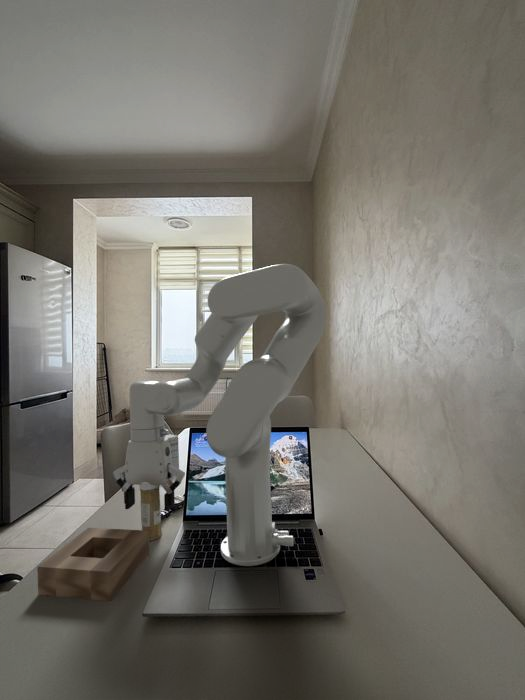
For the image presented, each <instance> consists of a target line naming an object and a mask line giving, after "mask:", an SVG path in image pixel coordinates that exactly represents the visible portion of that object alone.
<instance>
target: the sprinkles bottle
mask: <svg viewBox="0 0 525 700" xmlns="http://www.w3.org/2000/svg"><path fill="white" fill-rule="evenodd" d="M138 486H139V490H140V521H141V522H140V523H141V530H146V531H148V533H149V542H150V541H155V540H157V539H159V538H160V537H161V536H162V534H163V532H162V518H161V517H162V516H161V515H162V514H161V512H162V511H161V497H160V487H161V485H150V484H149V483H148V482H142V483H141V484H140V485H138Z"/></svg>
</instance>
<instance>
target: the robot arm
mask: <svg viewBox="0 0 525 700" xmlns="http://www.w3.org/2000/svg"><path fill="white" fill-rule="evenodd" d="M207 307H208V309H209V312H210V315H209V316H208V318H207V319H206V320H205V321H204V323H203V325H202V326H201V327H200V328H199V330H198V332H197V333H196V334H195V337H194V344H195V346H196V347H197V357H196V360H195V361H194V364H193V365H192V367H191V368H190V370H189V371H188V372H187V373H186V375H185V376H184V377H183V378H179V379H174V380H169V381H168V380H167V381H164V382H163V381H162V382H161V381H158V380H140V381H135V382H132V383H131V384H130V386H129V423H130V424H129V426H130V430H129V431H130V440H128V442H127V446H126V451H125V452H126V453H125V461H124V462H125V463H124V465H123V466H121V467H119V468H117V469H115V470H114V471H112V475H113V476H114V479H115V480H116V483H117V485H118V486H119V487H120V488H121V492H123V503H124V507H125V508H124V509H125V510H129V509H131V508H132V507H133V506H134V505H135V504H136V497H135V496H136V491H135V490H136V489H135V485H138V486H139V485H140V484H141V483H142V482H148V483H149V484H150V485H160V487H162V489H163V490H164V491H165V492H166V493H164V495H163V496H164V497H163V498H164V499H163V500H164V511H165V512H169V511H170V510H171V509H172V508H173V507H174V506H175V490H176V489H177V488H178V487H179V486H180V485H181V483H182V481H183V480H184V477H185V475H186V474H185V471H183V470H182V469H180V468H179V469H178V468H176V467H175V466H173V464H172V455H171V449H170V444H169V440H168V438H165V436H166V435H169V434H171V431H170V429H169V428H168V429H167V428H166V426H165V416H166V417H170V416H175V415H176V416H177V415H179V414H181V413H184V412H186V411H188V410H192V409H195V408H197V407H198V406H200V404H202V403H203V401H204V400H205V399H206V398H207V396H208V395H209V394H210V392H212V390H213V389H214V388H215V386H216V384H217V382H218V381H219V380H220V378H221V375H222V374H223V371H224V369H225V367H226V364H227V360H228V358H229V357H230V355H231V354H232V352H233V351H234V350H235V349H236V347H237V346H238V344H239V343H240V341H241V340H242V339H243V338H244V337H245V335H246V333H247V332H248V331H249V329H250V328H251V327H252V326H253V324H254V323H255V322H256V321H257V318H258V317H259V316H262V315H267V314H271V313H277V312H284V313H285V317H284V321H283V323H282V324H281V326H280V327H279V329H278V330H277V331H276V332H275V334H274V335H273V337H272V339H271V341H270V343H269V345H268V346H267V348H266V349H265V351H264V352H263V354H262V355H261V356H260V357H259V358H254V359H252V360H249V361H247V362H245V363H244V364H243V365H242V366H241V367H240V368H238V370H237V371H236V373H235V374H234V375H233V377H232V379H231V380H230V382H229V383H228V385H227V387H226V389H225V390H224V392H223V394H222V395H221V397H220V399H219V400H218V402H217V404H216V406H215V407H214V409H213V411H212V412H211V415H210V417H209V418H208V421H207V425H206V430H205V434H206V441H207V444H208V445H209V447H210V449H211V451H213V453H215V454H217V455H218V456H220V457H221V458H225V462H224V463H225V464H224V465H225V466H224V467H225V468H224V469H225V470H224V473H225V478H224V479H225V502H226V503H225V504H226V528H227V529H226V531H227V533H226V534H227V536H225V538H224V539H223V540H222V541H221V544H220V554H221V556H222V558H223V559H224V560H225V561H227V563H230V564H232V565H236V566H242V567H253V566H254V567H255V566H259V565H263V564H265V563H269V562H270V561H272V560H273V559H275V558H276V557H277V555H278V554H279V553H280V550H281V546H284V547H294V535H289V534H290V533H289V530H278V528H276V522H275V521H273V520H272V515H273V514H272V495H271V493H272V492H271V461H270V460H271V458H270V455H271V454H270V453H271V450H270V449H271V437H272V422H271V417H270V416H271V414H272V413H273V411H274V409H275V408H276V406H277V405H278V404H279V403H280V402H282V401H284V400H285V399H286V398H287V397H288V396H289V395H290V393H291V391H292V389H293V387H294V384H295V383H296V381H297V380H298V378H299V376H300V375H301V373H302V371H303V369H304V368H305V366H306V365H307V363H308V361H309V359H310V358H311V356H312V354H313V352H314V351H315V349H316V347H317V345H318V343H319V342H320V340H321V338H322V336H323V333H324V331H325V327H326V323H327V307H326V304H325V300H324V298H323V296H322V294H321V292H320V290H319V289H318V287H317V286H316V284H315V283H314V282H313V280H312V279H311V278H310V277H309V276H308V275H307V273H306V272H305V271H303V269H302V268H300V267H299V266H296V265H294V264H290V263H280V264H279V263H278V264H273V265H270V266H265V267H261V268H258V269H257V268H256V269H254V270H249V271H245V272H241V273H237V274H233V275H230V276H226V277H224V278H222V279H220V280H218V281H217V282H216V283H215V284H213V285H212V287H211V289H210V290H209V292H208V295H207ZM123 473H124V475H125V476H124V475H123ZM174 476H175V481H173V480H172V478H173V477H174Z"/></svg>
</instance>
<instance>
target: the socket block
mask: <svg viewBox="0 0 525 700" xmlns="http://www.w3.org/2000/svg"><path fill="white" fill-rule="evenodd" d="M149 555H150V541H149V533H148V531H146V530H142V529H140V530H139V529H123V528H121V529H120V528H106V527H105V528H104V527H103V528H101V527H99V528H98V527H87V528H86V529H85V530H83V531H82V532H81V533H80V534H78V535H77V536H75V537H74V538H73V539H72V540H70V541H69V542H68V543H66V544H65V545H63V547H61V548H60V549H58V551H56V552H54V553H53V554H52V555H50V557H48V558H47V559H46V560H44V561H43V562H41V563H40V564H39V565H38V566H37V567H36V568H37V571H36V572H37V591H38V593H37V595H38V594H39V595H38V596H46V595H49V596H48V597H58V598H59V597H60V598H72V599H80V600H81V599H82V600H95V601H107V602H111V600H112V599H113V598H114V597H115V596H116V595H117V593H118V592H119V591H120V590H121V589H122V588H123V586H124V585H125V584H126V583H127V582H128V580H130V578H131V577H132V576H133V575H134V573H135V572H136V571H137V570H138V569H139V567H141V565H142V564H143V563H144V561H145V560H146V559H147V558H148V557H149Z"/></svg>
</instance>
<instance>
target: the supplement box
mask: <svg viewBox="0 0 525 700" xmlns="http://www.w3.org/2000/svg"><path fill="white" fill-rule="evenodd" d="M165 438H168V440H169V444H170V449H171V455H172V464H173V466H175V467H176V468H178V469H180V460H179V459H180V453H179V449H180V448H179V447H180V446H179V435H175V434H171V433H170V434H169V435H166V436H165Z"/></svg>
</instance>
